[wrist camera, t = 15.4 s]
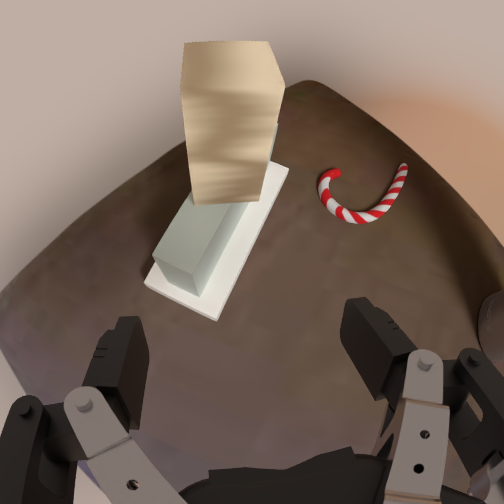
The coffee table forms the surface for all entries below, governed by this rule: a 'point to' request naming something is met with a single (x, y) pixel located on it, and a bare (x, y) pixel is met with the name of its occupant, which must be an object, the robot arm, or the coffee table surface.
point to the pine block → (229, 117)
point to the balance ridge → (211, 247)
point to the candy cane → (359, 216)
